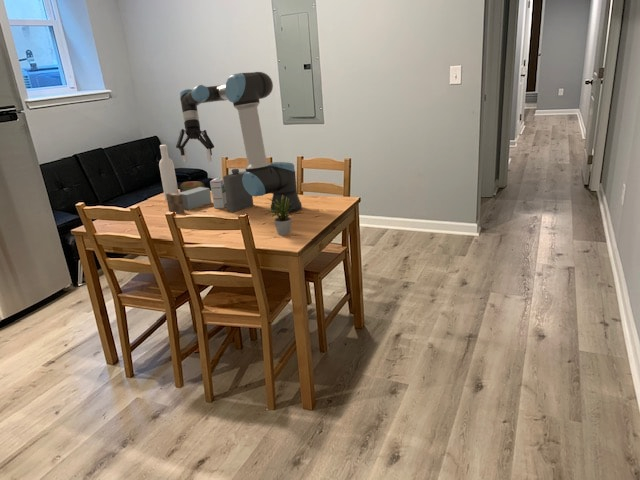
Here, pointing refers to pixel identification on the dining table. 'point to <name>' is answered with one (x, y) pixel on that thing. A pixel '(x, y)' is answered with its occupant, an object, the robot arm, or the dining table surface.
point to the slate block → (196, 197)
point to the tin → (190, 185)
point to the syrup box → (218, 193)
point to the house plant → (282, 217)
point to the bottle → (167, 172)
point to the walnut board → (175, 202)
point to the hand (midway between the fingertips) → (197, 161)
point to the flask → (236, 192)
